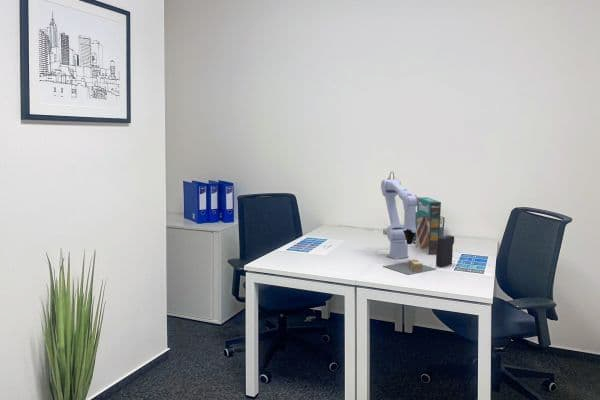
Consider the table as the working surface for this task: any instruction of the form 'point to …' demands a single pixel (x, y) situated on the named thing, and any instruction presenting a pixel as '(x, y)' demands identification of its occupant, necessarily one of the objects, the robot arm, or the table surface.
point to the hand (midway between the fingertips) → (409, 244)
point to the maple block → (415, 265)
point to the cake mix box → (428, 224)
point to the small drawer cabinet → (444, 250)
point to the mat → (407, 268)
